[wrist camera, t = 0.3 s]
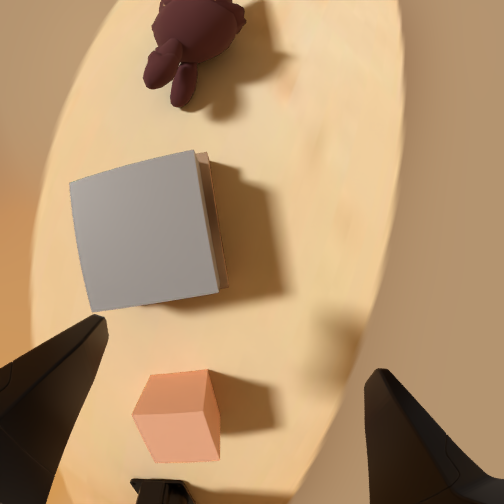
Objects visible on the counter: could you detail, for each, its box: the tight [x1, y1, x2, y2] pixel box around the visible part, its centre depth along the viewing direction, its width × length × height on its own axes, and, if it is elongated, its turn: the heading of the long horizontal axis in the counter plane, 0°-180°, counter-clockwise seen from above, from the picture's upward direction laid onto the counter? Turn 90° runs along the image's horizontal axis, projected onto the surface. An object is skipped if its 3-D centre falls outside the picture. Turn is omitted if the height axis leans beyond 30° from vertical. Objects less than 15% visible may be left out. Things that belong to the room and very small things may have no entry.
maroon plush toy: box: [143, 0, 246, 107], centre depth 16 cm, size 7×7×15 cm
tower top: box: [69, 150, 220, 312], centre depth 17 cm, size 8×8×3 cm
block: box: [132, 369, 220, 463], centre depth 19 cm, size 5×5×6 cm
